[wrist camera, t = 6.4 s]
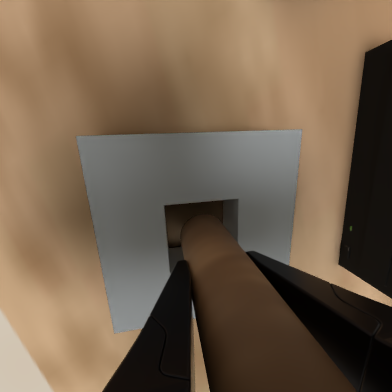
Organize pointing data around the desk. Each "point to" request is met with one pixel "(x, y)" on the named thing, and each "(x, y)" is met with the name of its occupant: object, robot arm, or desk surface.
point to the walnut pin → (249, 321)
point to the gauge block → (182, 202)
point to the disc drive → (371, 178)
